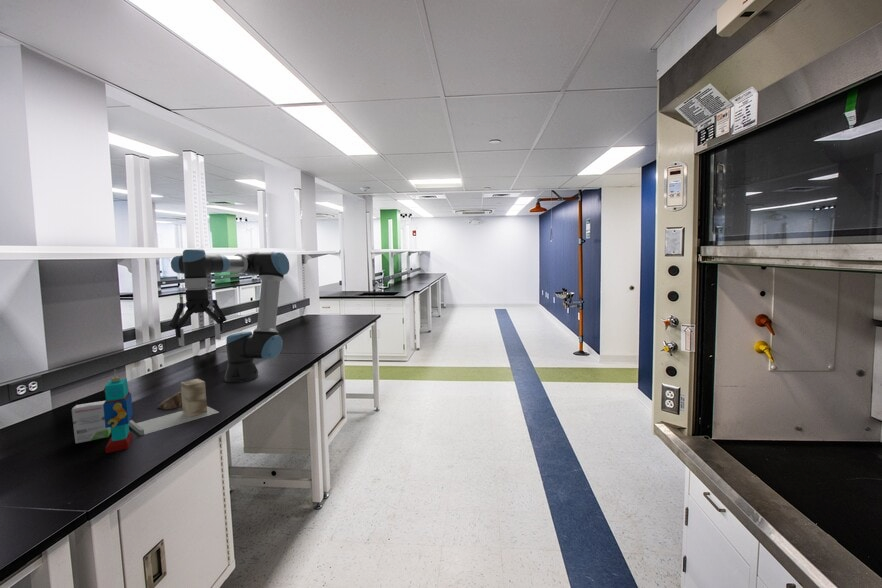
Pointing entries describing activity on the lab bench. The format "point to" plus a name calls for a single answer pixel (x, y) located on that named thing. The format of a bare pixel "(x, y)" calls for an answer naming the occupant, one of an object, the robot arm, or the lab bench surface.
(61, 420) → the lab bench surface
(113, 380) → the toy robot
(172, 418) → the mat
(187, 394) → the block
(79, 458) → the lab bench surface
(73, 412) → the ink box
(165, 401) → the rock
